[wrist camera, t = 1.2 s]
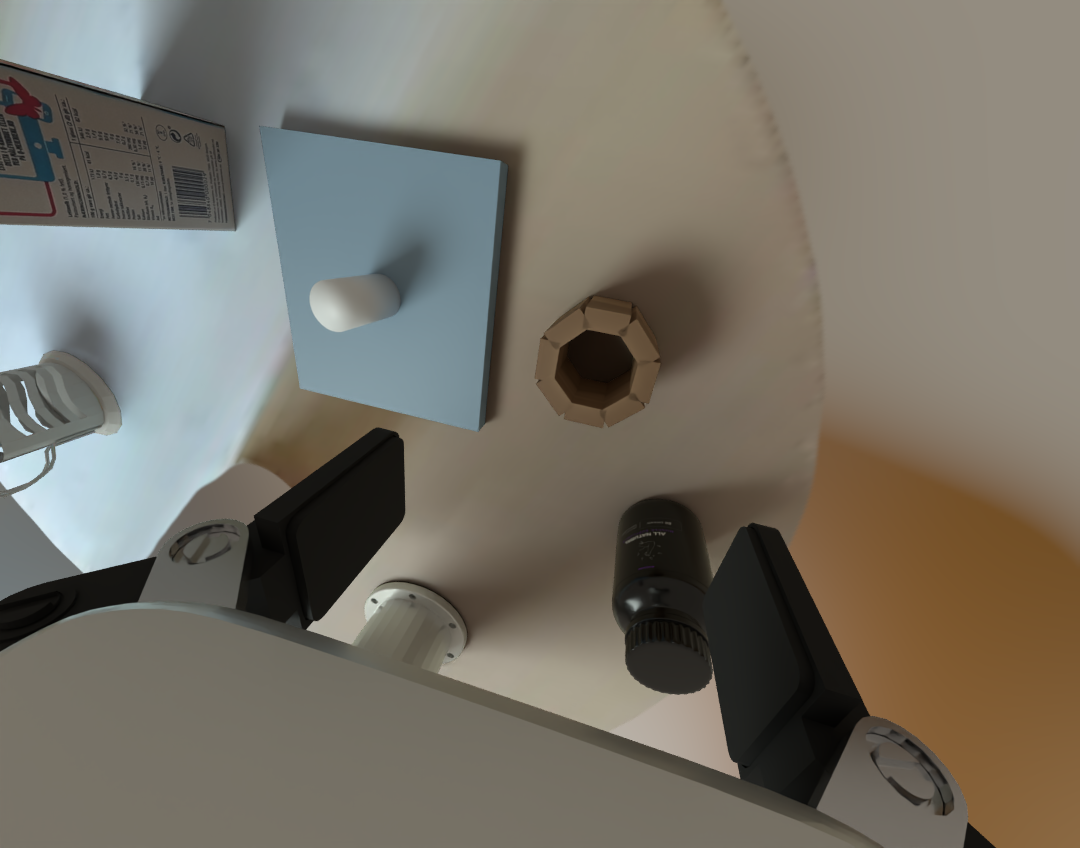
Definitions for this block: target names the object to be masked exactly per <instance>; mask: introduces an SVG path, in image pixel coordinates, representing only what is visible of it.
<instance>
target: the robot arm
mask: <svg viewBox="0 0 1080 848" xmlns="http://www.w3.org/2000/svg"><path fill="white" fill-rule="evenodd" d="M404 515H405V477H404V442H403V440H402V439H401V438H399V435H398V433H397V432H394V431H390V430H386V429H382V428H375V429H373V430H372V431H370V432H369V433H367V434H366V435H365V436H363V437H362V438H360V439H359V440H358V441H356V442H355V443H354V444H352V445H351V446H349V447H348V448H347V449H345V450H344V451H342V452H341V453H340V454H338V455H337V456H336V457H334V458H333V459H331V460H330V461H329V462H327V463H326V464H325V465H323V466H322V467H320V468H319V469H318V470H316V471H315V472H313V473H312V474H311V475H309V476H308V477H307V478H305V479H304V480H302V481H301V482H300V483H298V484H297V485H296V486H294V487H293V488H291V489H290V490H289V491H287V492H286V493H284V494H283V495H282V496H280V497H279V498H278V499H276V500H275V501H274V502H272V503H271V504H269V505H268V506H267V507H265V508H264V509H262V510H261V511H260V512H258V513H257V514H255V515H254V518H255V520H254V521H253V522H252V523H250V524H249V525H247V526H246V525H245V524H244V523H242V522H240V521H237V520H233V519H216V520H210V521H206V522H202V523H198V524H196V525H193V526H191V527H189V528H186V529H184V530H182V531H181V532H179V533H177V534H176V535H174V536H173V537H172V538H170V539H169V540H168V541H167V542H166V543H165V544H164V545H163V547H162V548H161V550H160V551H159V553H158V555H157V557H152V558H148V559H144V560H140V561H135V562H131V563H127V564H123V565H118V566H114V567H110V568H106V569H101V570H97V571H93V572H89V573H84V574H80V575H76V576H72V577H68V578H64V579H59V580H55V581H51V582H46V583H43V584H40V585H36V586H33V587H30V588H27V589H25V590H23V591H20V592H18V593H15V594H13V595H11V596H8V597H7V598H5V599H3V600H1V601H0V848H996V847H994V846H993V845H992V844H991V843H990V842H989V841H988V840H987V839H986V838H984V836H982V835H981V834H980V833H979V832H978V831H977V830H976V829H975V828H974V827H972V826H971V825H970V824H969V823H968V814H967V804H966V801H965V799H964V796H963V794H962V792H961V789H960V787H959V786H958V784H957V782H956V781H955V779H954V778H953V776H952V775H951V773H950V772H949V770H948V769H947V768H946V767H945V765H944V764H943V763H942V762H941V761H940V760H939V759H938V757H937V756H936V755H935V754H934V753H933V752H932V751H931V750H930V749H929V748H928V747H927V746H925V744H923V743H922V742H921V741H920V740H919V739H918V738H917V737H915V736H914V735H912V734H911V733H909V732H908V731H907V730H905V729H904V728H902V727H901V726H899V725H897V724H895V723H893V722H891V721H888V720H887V719H883V718H879V717H875V716H870V715H869V713H868V711H867V709H866V707H865V705H864V703H863V701H862V699H861V696H860V694H859V692H858V690H857V688H856V686H855V684H854V682H853V680H852V678H851V676H850V674H849V672H848V670H847V668H846V666H845V664H844V662H843V660H842V658H841V656H840V654H839V652H838V650H837V648H836V646H835V644H834V642H833V639H832V637H831V635H830V634H829V631H828V629H827V627H826V625H825V623H824V621H823V619H822V617H821V615H820V613H819V611H818V609H817V607H816V605H815V603H814V601H813V599H812V597H811V595H810V593H809V591H808V589H807V587H806V585H805V583H804V581H803V579H802V577H801V574H800V572H799V570H798V569H797V566H796V564H795V562H794V560H793V559H792V556H791V554H790V552H789V550H788V548H787V546H786V544H785V542H784V540H783V538H782V536H781V534H780V532H779V531H778V530H777V529H775V528H771V527H767V526H763V525H759V524H755V523H751V524H749V525H748V527H741V528H740V529H739V531H738V533H737V535H736V536H735V538H734V540H733V542H732V544H731V546H730V548H729V550H728V552H727V554H726V556H725V558H724V559H723V561H722V563H721V565H720V567H719V569H718V571H717V573H716V575H715V577H714V579H713V581H712V582H711V584H710V586H709V588H708V590H707V592H706V594H705V596H704V599H703V615H704V620H705V626H706V631H707V637H708V642H709V648H710V653H711V659H712V664H713V670H714V675H715V681H716V686H717V692H718V697H719V703H720V708H721V714H722V719H723V724H724V730H725V735H726V741H727V746H728V752H729V755H730V758H731V760H732V761H733V762H736V763H738V769H739V774H740V779H738V778H736V777H733V776H730V775H728V774H725V773H722V772H719V771H717V770H714V769H711V768H708V767H705V766H703V765H700V764H698V763H695V762H692V761H689V760H687V759H684V758H681V757H678V756H675V755H672V754H669V753H667V752H664V751H661V750H658V749H655V748H652V747H649V746H646V745H644V744H640V743H638V742H635V741H632V740H629V739H626V738H623V737H620V736H617V735H614V734H612V733H609V732H606V731H603V730H600V729H597V728H595V727H592V726H589V725H586V724H583V723H580V722H577V721H574V720H572V719H569V718H566V717H563V716H560V715H557V714H554V713H551V712H548V711H545V710H542V709H539V708H537V707H534V706H531V705H528V704H525V703H522V702H519V701H516V700H513V699H510V698H507V697H504V696H501V695H499V694H496V693H493V692H490V691H487V690H484V689H481V688H478V687H475V686H472V685H469V684H466V683H463V682H460V681H457V680H454V679H451V678H449V677H446V676H443V675H440V674H438V672H439V669H440V667H441V665H442V664H443V663H448V662H450V661H452V660H455V659H456V658H457V657H458V656H460V654H461V653H462V651H463V649H464V646H465V644H466V641H467V631H466V627H465V624H464V622H463V620H462V618H461V617H460V615H459V614H458V612H457V611H456V610H455V609H454V608H453V607H452V605H451V604H449V603H448V602H447V601H446V600H445V599H443V598H442V597H440V596H439V595H437V594H436V593H434V592H432V591H430V590H428V589H426V588H424V587H421V586H418V585H415V584H410V583H404V582H392V583H386V584H383V585H380V586H379V587H377V588H376V589H374V591H373V592H372V593H371V594H370V596H369V597H368V599H367V600H366V602H365V607H364V612H365V618H366V621H367V623H366V625H365V626H364V628H363V629H362V630H361V632H360V633H359V635H358V636H357V638H356V639H355V640H354V642H353V643H352V645H350V644H347V643H344V642H341V641H338V640H335V639H332V638H329V637H326V636H323V635H320V634H317V633H314V632H311V631H307V630H306V629H307V628H308V627H309V625H310V624H311V623H312V622H313V621H319V620H320V619H321V618H322V617H323V616H324V615H325V614H326V613H327V612H328V610H329V609H330V608H331V607H332V606H333V604H334V603H335V602H336V601H337V600H338V598H339V597H340V596H341V595H342V594H343V592H344V591H345V590H346V589H347V587H348V586H349V585H350V584H351V583H352V581H353V580H354V579H355V578H356V577H357V575H358V574H359V573H360V572H361V571H362V569H363V568H364V567H365V566H366V565H367V563H368V562H369V561H370V560H371V558H372V557H373V556H374V555H375V554H376V552H377V551H378V550H379V549H380V548H381V546H382V545H383V544H384V543H385V542H386V540H387V539H388V538H389V537H390V536H391V534H392V533H393V532H394V531H395V529H396V528H397V527H398V526H399V525H400V523H401V522H402V520H403V518H404Z"/></svg>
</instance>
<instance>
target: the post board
mask: <svg viewBox="0 0 1080 848" xmlns="http://www.w3.org/2000/svg"><path fill="white" fill-rule="evenodd" d="M259 127H260V134H261V140H262V146H263V153H264V159H265V166H266V172H267V179H268V185H269V192H270V198H271V204H272V211H273V217H274V224H275V230H276V237H277V243H278V249H279V256H280V262H281V269H282V275H283V282H284V288H285V294H286V301H287V307H288V314H289V320H290V327H291V333H292V339H293V346H294V352H295V359H296V365H297V372H298V378H299V385H300V388H301V389H305V390H309V391H313V392H317V393H321V394H325V395H329V396H334V397H338V398H342V399H346V400H350V401H354V402H358V403H362V404H366V405H370V406H374V407H379V408H383V409H387V410H391V411H395V412H399V413H403V414H407V415H411V416H415V417H419V418H424V419H428V420H432V421H436V422H440V423H444V424H448V425H452V426H456V427H460V428H465V429H469V430H473V431H477V432H479V430H480V429H481V428H482V427H483V425H484V424H485V416H486V405H487V394H488V383H489V372H490V361H491V350H492V339H493V328H494V317H495V306H496V295H497V284H498V273H499V262H500V251H501V239H502V228H503V217H504V206H505V195H506V184H507V173H508V165H507V164H505V163H503V162H502V161H499V160H492V159H485V158H478V157H471V156H464V155H458V154H451V153H444V152H437V151H430V150H423V149H416V148H409V147H402V146H396V145H389V144H382V143H375V142H368V141H361V140H354V139H347V138H340V137H334V136H327V135H320V134H313V133H306V132H299V131H292V130H285V129H278V128H272V127H265V126H259Z"/></svg>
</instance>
